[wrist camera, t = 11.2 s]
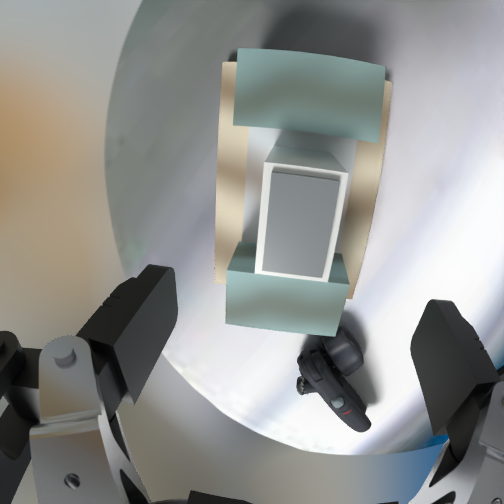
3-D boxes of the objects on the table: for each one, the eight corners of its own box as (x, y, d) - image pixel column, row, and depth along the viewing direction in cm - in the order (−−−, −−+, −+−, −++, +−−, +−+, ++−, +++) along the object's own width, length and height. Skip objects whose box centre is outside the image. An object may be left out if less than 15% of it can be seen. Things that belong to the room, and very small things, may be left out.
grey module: (266, 226, 23) (253, 276, 16) (273, 146, 20) (263, 163, 14) (319, 232, 22) (328, 285, 16) (331, 153, 20) (349, 174, 13)
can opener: (281, 336, 30) (277, 377, 25) (346, 312, 28) (354, 353, 23) (336, 419, 36) (337, 453, 31) (385, 405, 34) (391, 439, 29)
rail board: (226, 64, 19) (202, 48, 14) (387, 83, 18) (418, 75, 13) (218, 276, 27) (198, 319, 22) (350, 291, 26) (360, 338, 21)
